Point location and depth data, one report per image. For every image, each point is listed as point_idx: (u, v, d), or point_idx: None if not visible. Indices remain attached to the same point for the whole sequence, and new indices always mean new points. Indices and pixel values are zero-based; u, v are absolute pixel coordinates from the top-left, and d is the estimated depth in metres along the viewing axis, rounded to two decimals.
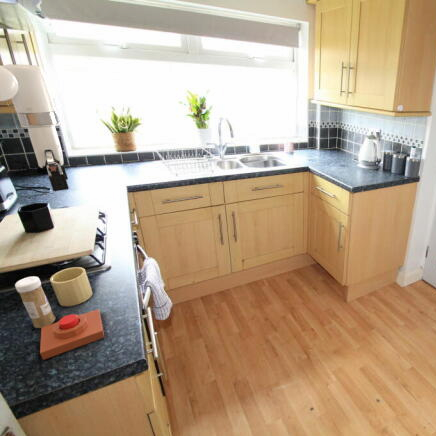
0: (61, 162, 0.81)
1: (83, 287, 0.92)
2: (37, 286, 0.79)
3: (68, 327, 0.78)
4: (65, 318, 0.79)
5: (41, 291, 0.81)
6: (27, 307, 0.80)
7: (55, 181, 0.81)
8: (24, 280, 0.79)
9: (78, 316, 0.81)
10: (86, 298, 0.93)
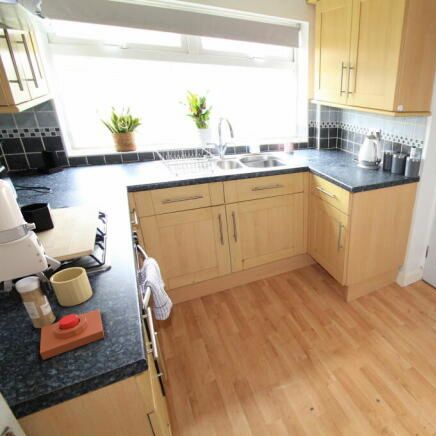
0: None
1: (83, 287, 0.92)
2: (37, 286, 0.79)
3: (68, 327, 0.78)
4: (65, 318, 0.79)
5: (41, 291, 0.81)
6: (27, 307, 0.80)
7: None
8: (24, 280, 0.79)
9: (78, 316, 0.81)
10: (86, 298, 0.93)
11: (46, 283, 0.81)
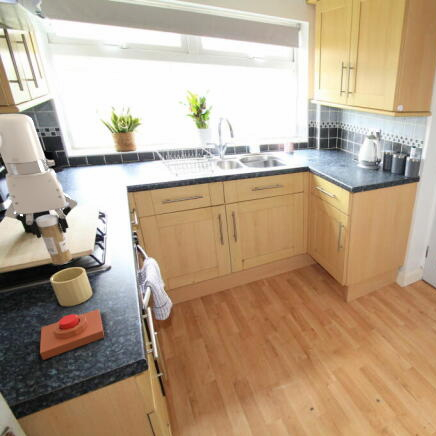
0: (17, 211, 0.78)
1: (83, 287, 0.92)
2: (56, 222, 0.84)
3: (68, 327, 0.78)
4: (65, 318, 0.79)
5: (59, 228, 0.85)
6: (46, 242, 0.84)
7: None
8: (44, 216, 0.83)
9: (78, 316, 0.81)
10: (86, 298, 0.93)
11: (64, 220, 0.85)
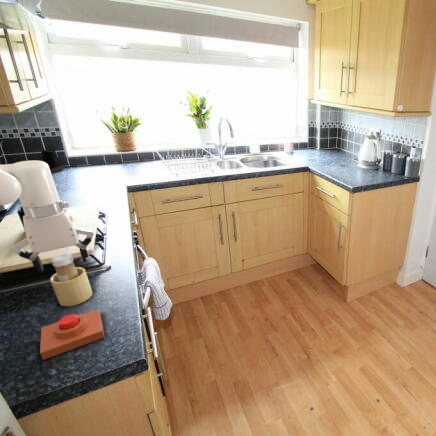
0: (33, 250, 0.83)
1: (83, 287, 0.92)
2: (70, 261, 0.89)
3: (68, 327, 0.78)
4: (65, 318, 0.79)
5: (73, 266, 0.90)
6: (61, 280, 0.89)
7: (33, 262, 0.85)
8: (59, 256, 0.89)
9: (78, 316, 0.81)
10: (86, 298, 0.93)
11: (85, 251, 0.91)
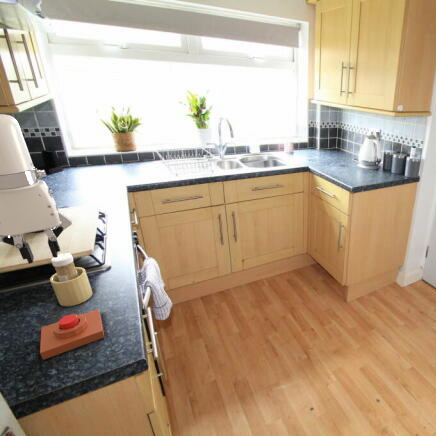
0: None
1: (83, 287, 0.92)
2: (70, 261, 0.89)
3: (68, 327, 0.78)
4: (65, 318, 0.79)
5: (73, 266, 0.90)
6: (61, 280, 0.89)
7: None
8: (59, 256, 0.89)
9: (78, 316, 0.81)
10: (86, 298, 0.93)
11: (55, 243, 0.71)
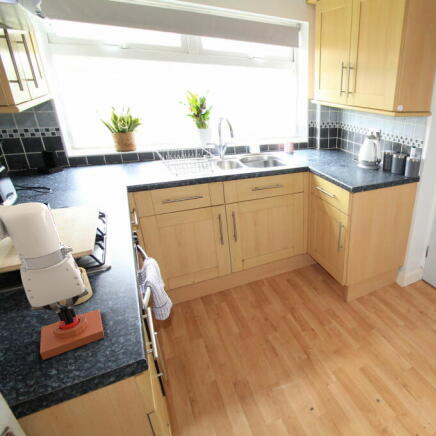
0: (32, 305, 0.71)
1: None
2: None
3: None
4: None
5: None
6: None
7: None
8: None
9: (78, 316, 0.81)
10: (86, 298, 0.93)
11: (71, 310, 0.78)
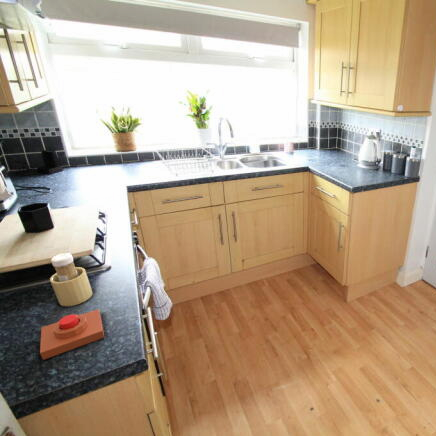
0: None
1: (83, 287, 0.92)
2: (70, 261, 0.89)
3: (68, 327, 0.78)
4: (65, 318, 0.79)
5: (73, 266, 0.90)
6: (61, 280, 0.89)
7: None
8: (59, 256, 0.89)
9: (78, 316, 0.81)
10: (86, 298, 0.93)
11: None
